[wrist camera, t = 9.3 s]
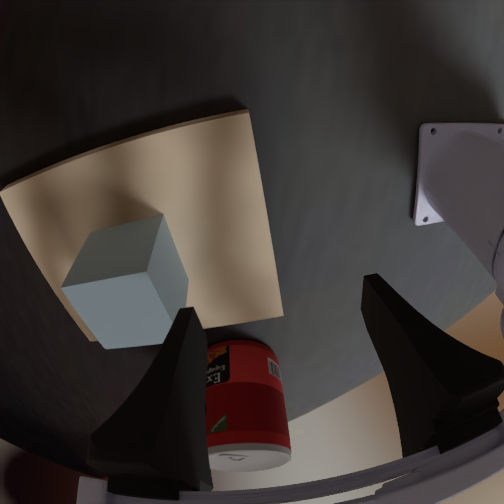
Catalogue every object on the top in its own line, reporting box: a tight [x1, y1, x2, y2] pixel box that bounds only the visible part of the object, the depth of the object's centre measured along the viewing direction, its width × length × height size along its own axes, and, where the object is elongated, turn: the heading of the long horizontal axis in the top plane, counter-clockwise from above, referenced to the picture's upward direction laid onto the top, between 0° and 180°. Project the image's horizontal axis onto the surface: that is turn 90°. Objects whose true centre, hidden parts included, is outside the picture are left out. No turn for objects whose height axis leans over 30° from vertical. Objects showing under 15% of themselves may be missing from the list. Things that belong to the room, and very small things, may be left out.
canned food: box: [205, 339, 291, 472], centre depth 26 cm, size 8×8×11 cm
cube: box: [61, 214, 189, 349], centre depth 19 cm, size 6×6×6 cm
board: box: [0, 109, 283, 341], centre depth 21 cm, size 18×16×1 cm
